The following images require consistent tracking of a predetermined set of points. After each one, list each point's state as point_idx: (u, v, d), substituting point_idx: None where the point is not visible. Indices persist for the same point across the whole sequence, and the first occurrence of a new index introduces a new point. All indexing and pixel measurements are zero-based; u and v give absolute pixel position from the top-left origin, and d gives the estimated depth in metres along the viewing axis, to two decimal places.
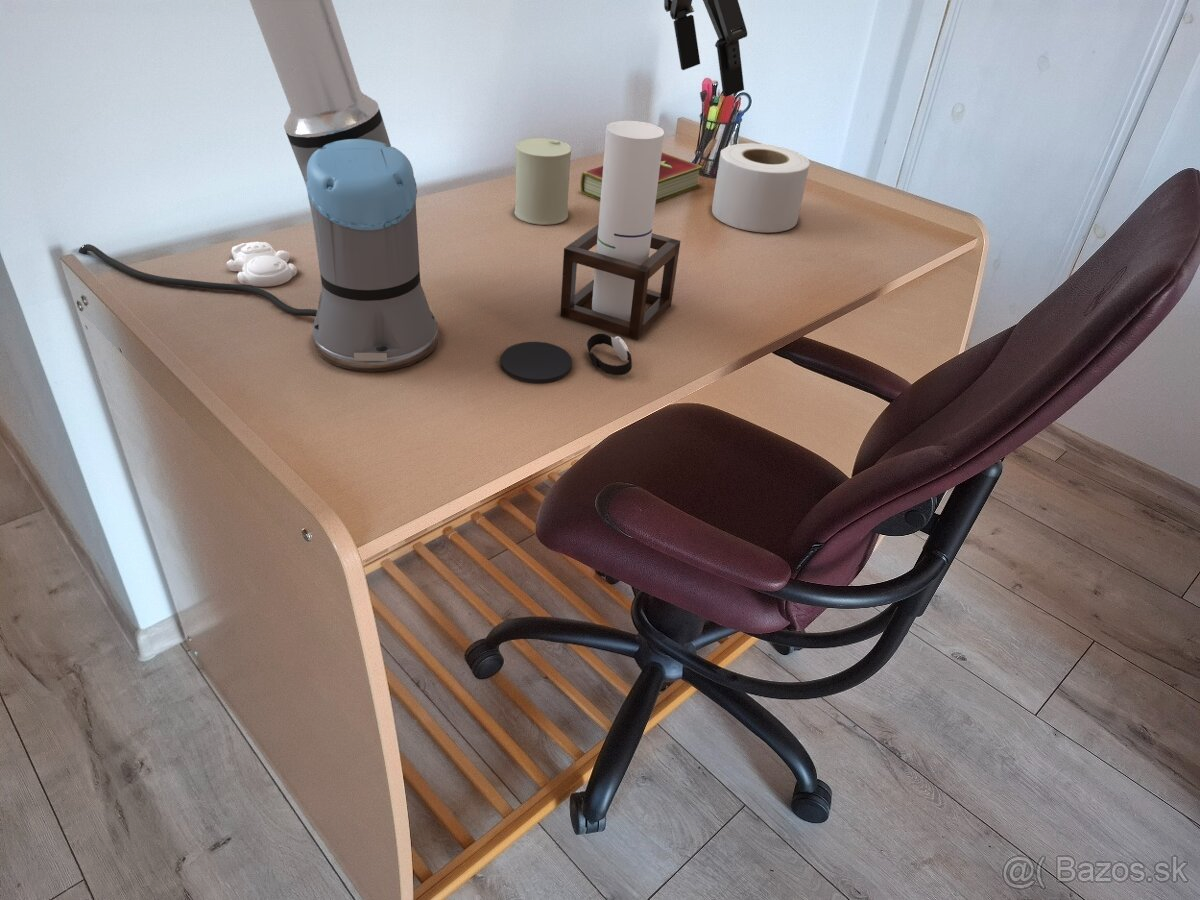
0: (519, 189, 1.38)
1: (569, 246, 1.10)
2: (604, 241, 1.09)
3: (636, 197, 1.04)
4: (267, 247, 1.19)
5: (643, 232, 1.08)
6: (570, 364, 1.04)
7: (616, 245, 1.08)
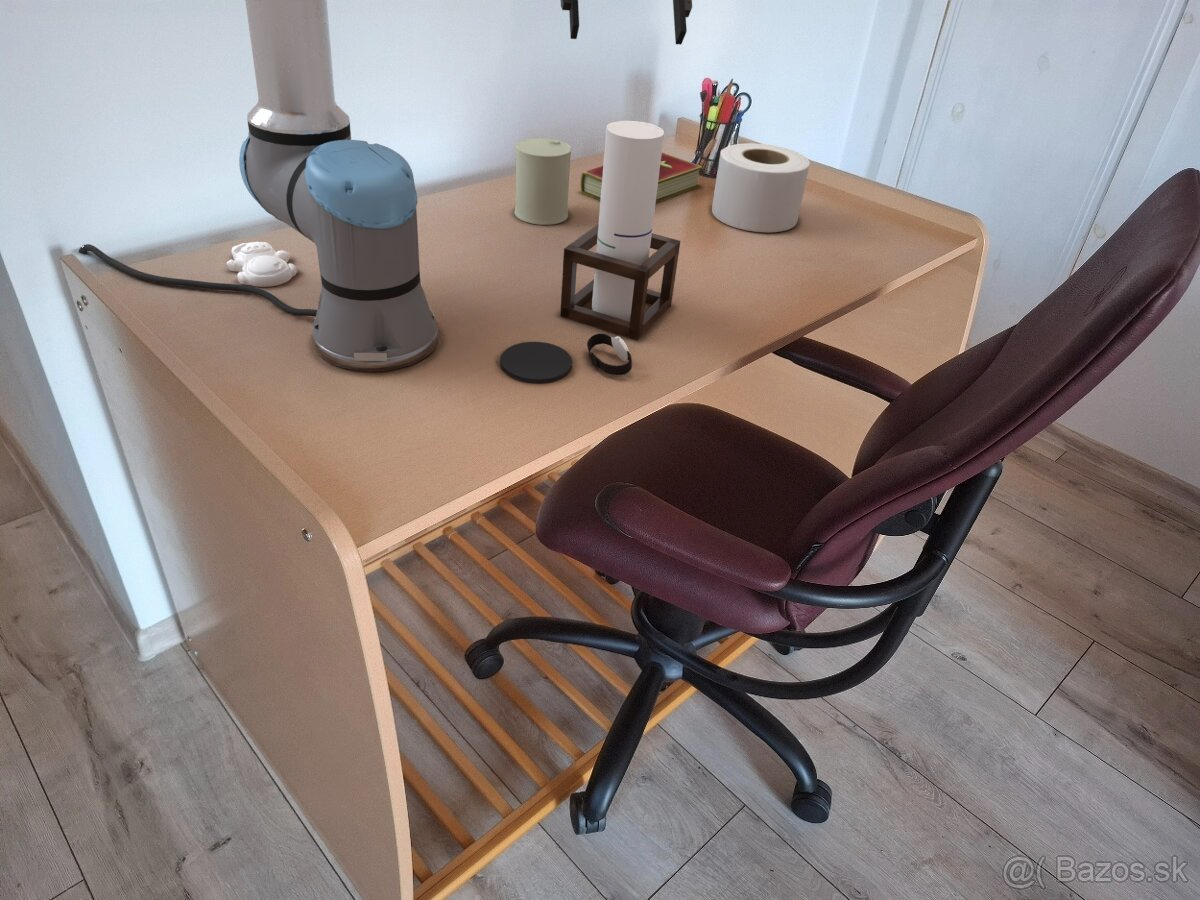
0: (519, 189, 1.38)
1: (569, 246, 1.10)
2: (604, 241, 1.09)
3: (636, 197, 1.04)
4: (267, 247, 1.19)
5: (643, 232, 1.08)
6: (570, 364, 1.04)
7: (616, 245, 1.08)
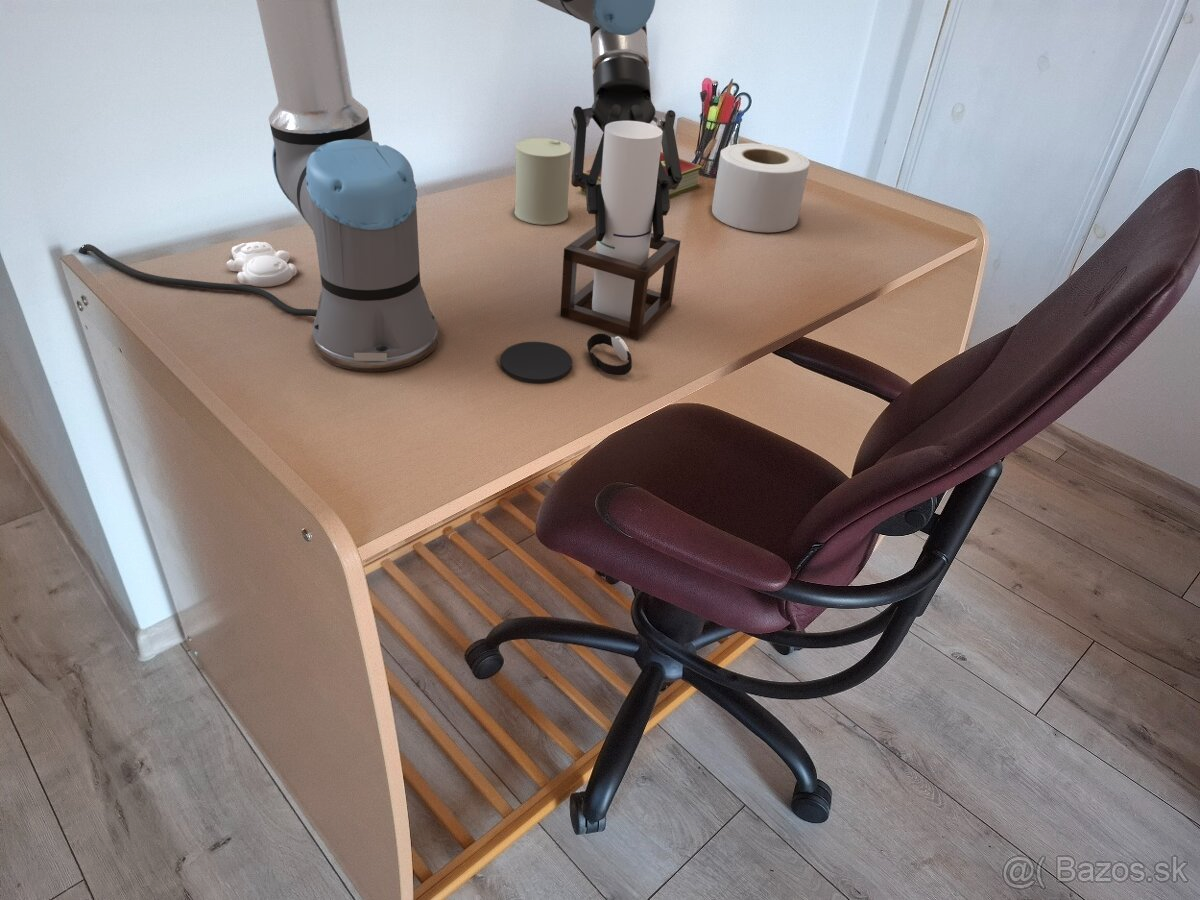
0: (519, 189, 1.38)
1: (569, 246, 1.10)
2: (603, 241, 1.09)
3: (635, 197, 1.04)
4: (267, 247, 1.19)
5: (642, 232, 1.08)
6: (570, 364, 1.04)
7: (615, 245, 1.08)
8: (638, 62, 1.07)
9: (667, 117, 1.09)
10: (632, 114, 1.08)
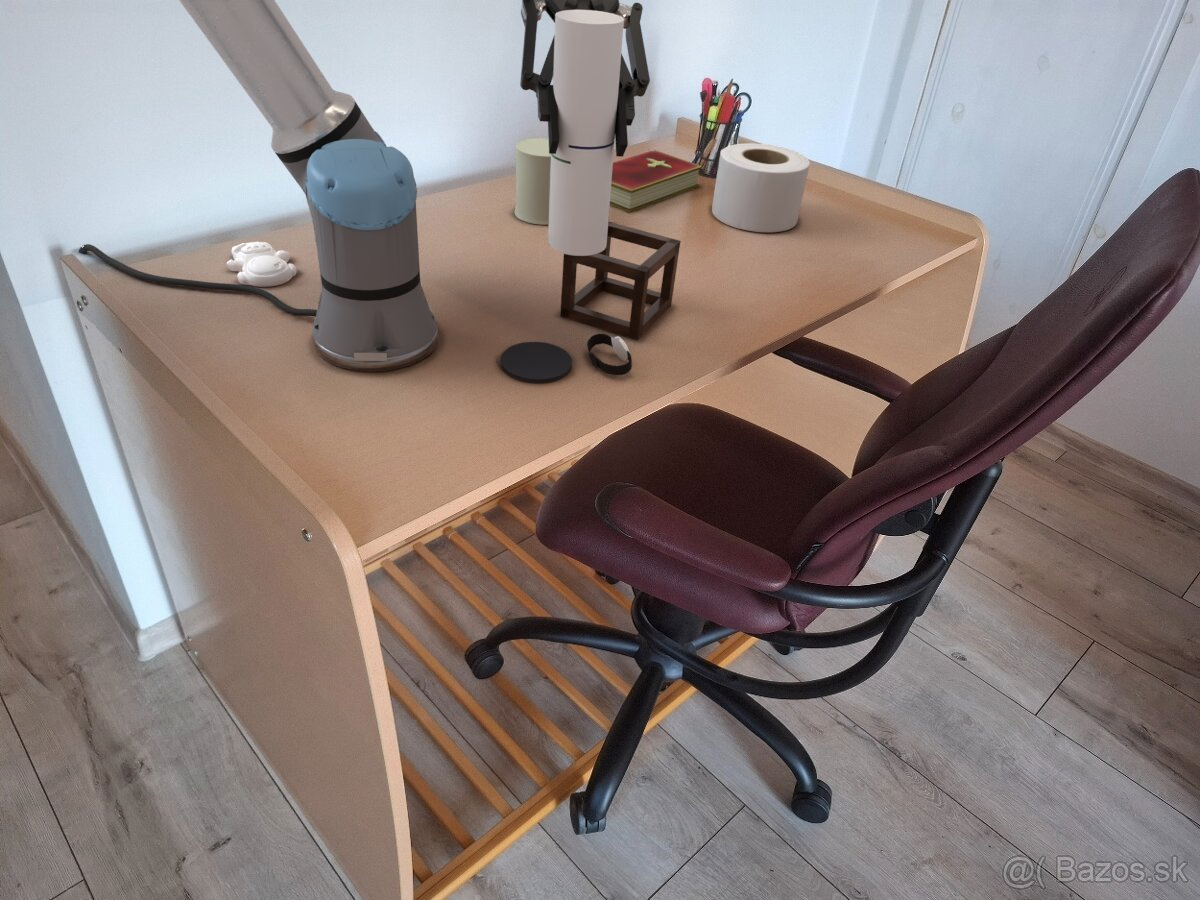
0: (519, 189, 1.38)
1: None
2: (558, 155, 0.93)
3: (592, 99, 0.88)
4: (267, 247, 1.19)
5: (603, 143, 0.92)
6: (570, 364, 1.04)
7: (571, 159, 0.92)
8: None
9: (633, 10, 0.93)
10: (592, 5, 0.92)
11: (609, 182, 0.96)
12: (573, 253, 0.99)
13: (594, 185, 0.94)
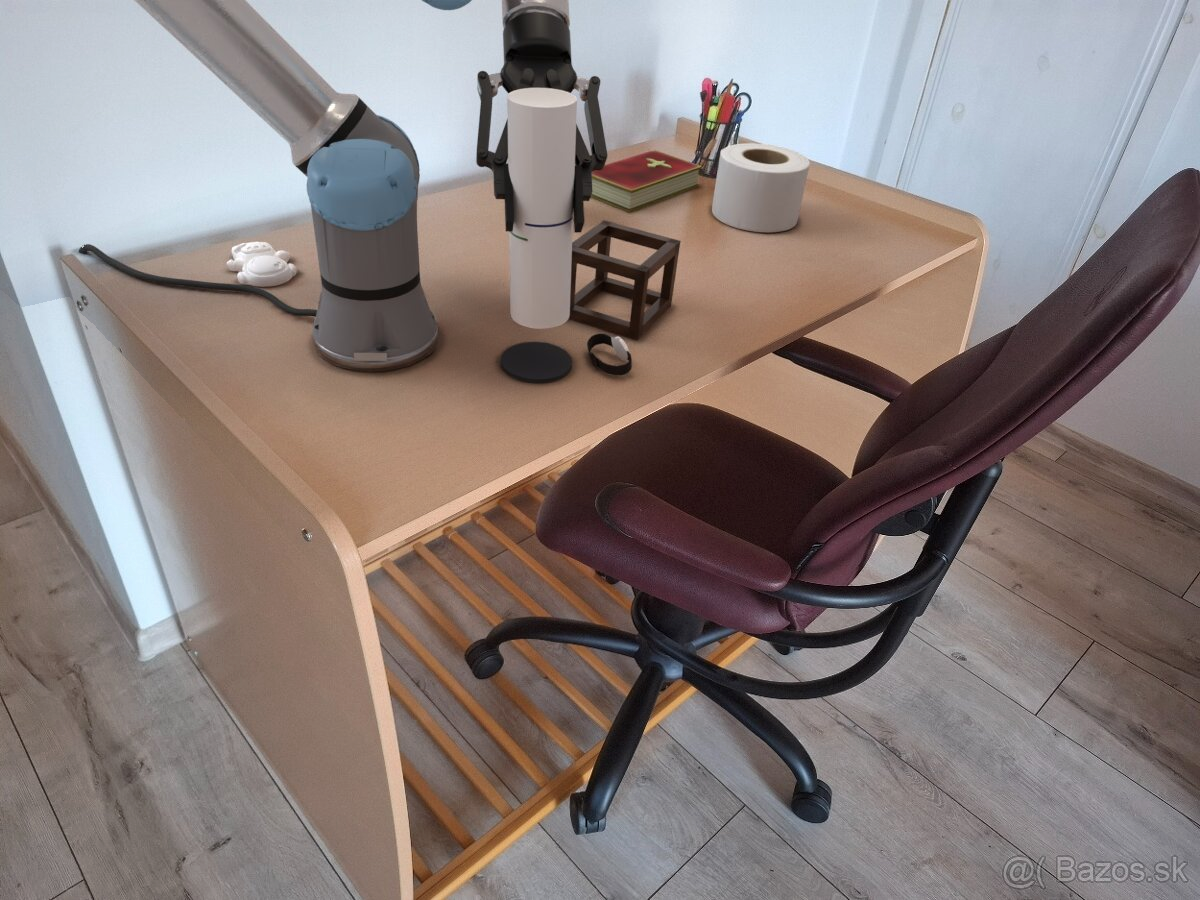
0: None
1: None
2: (515, 232, 0.92)
3: (547, 179, 0.87)
4: (267, 247, 1.19)
5: (560, 221, 0.91)
6: (570, 364, 1.04)
7: (528, 237, 0.91)
8: (554, 18, 0.90)
9: (590, 84, 0.92)
10: (548, 80, 0.91)
11: (569, 256, 0.95)
12: (534, 326, 0.98)
13: (553, 261, 0.93)
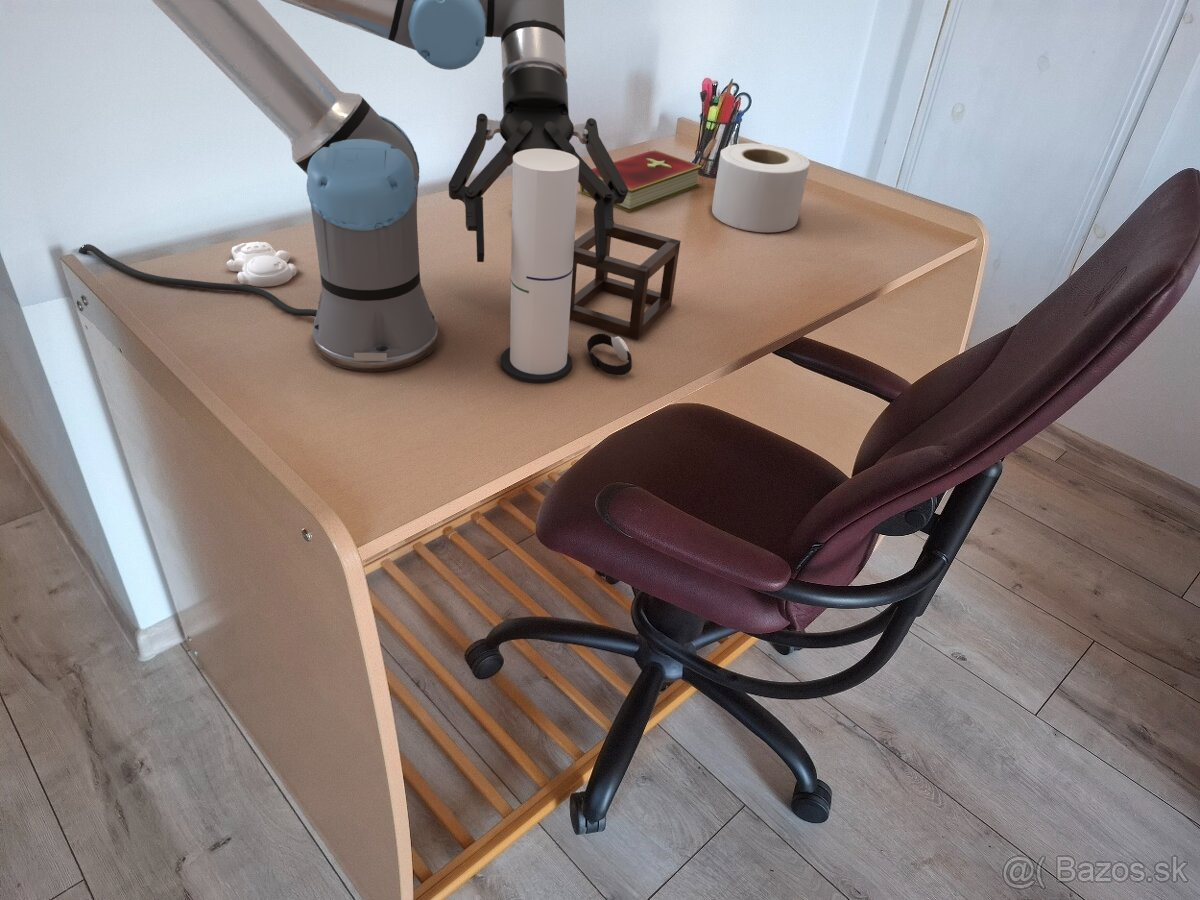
0: None
1: None
2: (517, 284, 0.96)
3: (549, 236, 0.91)
4: (267, 247, 1.19)
5: (560, 274, 0.95)
6: (570, 364, 1.04)
7: (529, 289, 0.95)
8: (552, 72, 0.93)
9: (588, 127, 0.96)
10: (545, 132, 0.94)
11: (567, 307, 0.99)
12: (533, 372, 1.02)
13: (552, 312, 0.97)
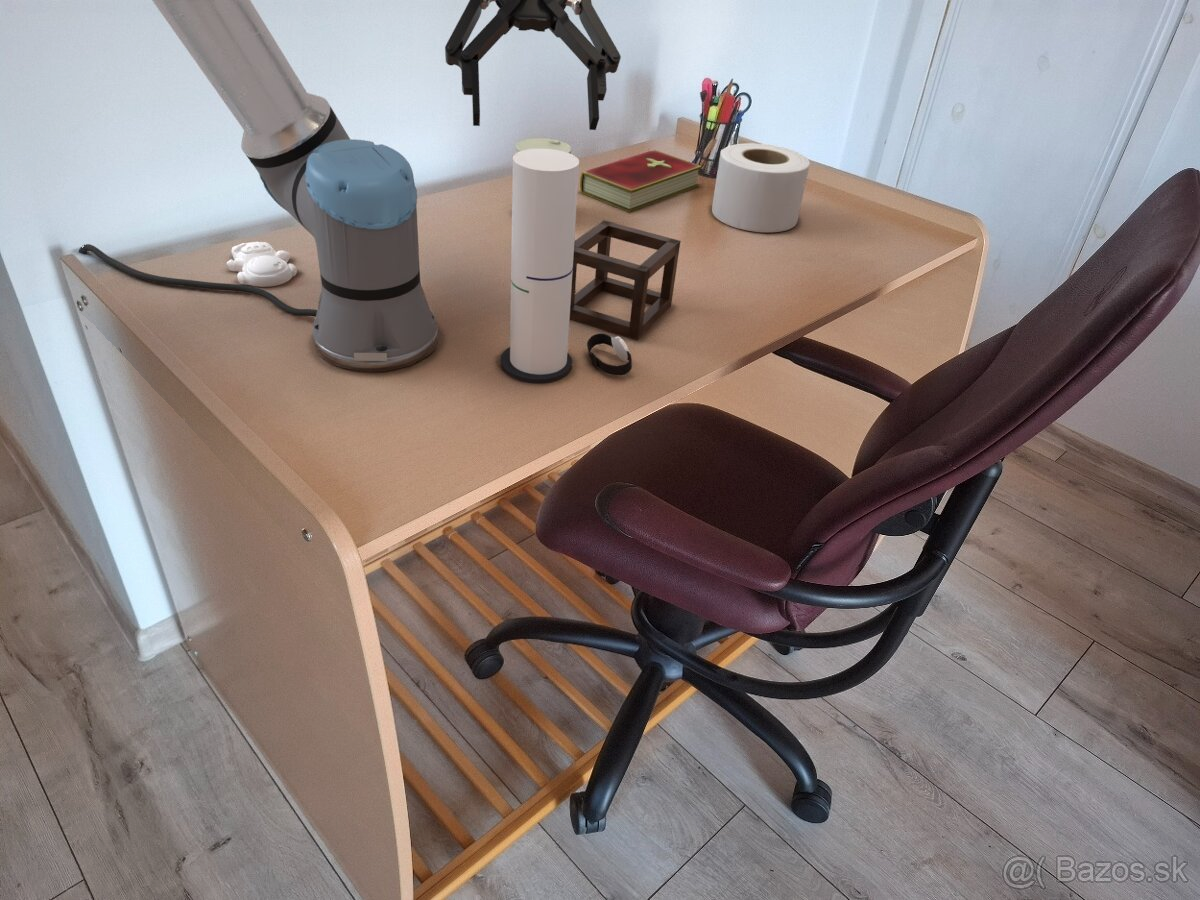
0: None
1: None
2: (517, 284, 0.96)
3: (549, 236, 0.91)
4: (267, 247, 1.19)
5: (560, 274, 0.95)
6: (570, 364, 1.04)
7: (529, 289, 0.95)
8: None
9: None
10: None
11: (567, 307, 0.99)
12: (533, 372, 1.02)
13: (552, 312, 0.97)
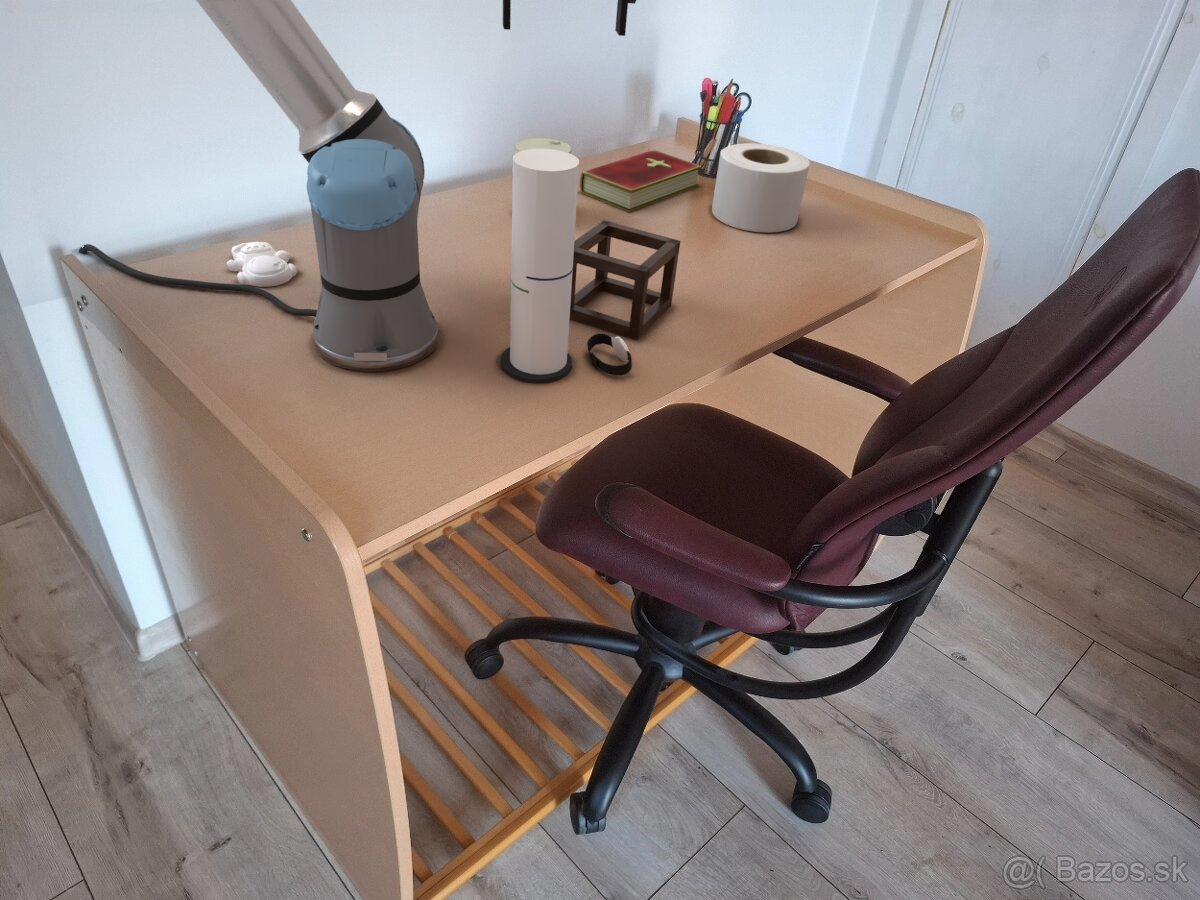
0: None
1: None
2: (517, 284, 0.96)
3: (549, 236, 0.91)
4: (267, 247, 1.19)
5: (560, 274, 0.95)
6: (570, 364, 1.04)
7: (529, 289, 0.95)
8: None
9: None
10: None
11: (567, 307, 0.99)
12: (533, 372, 1.02)
13: (552, 312, 0.97)
